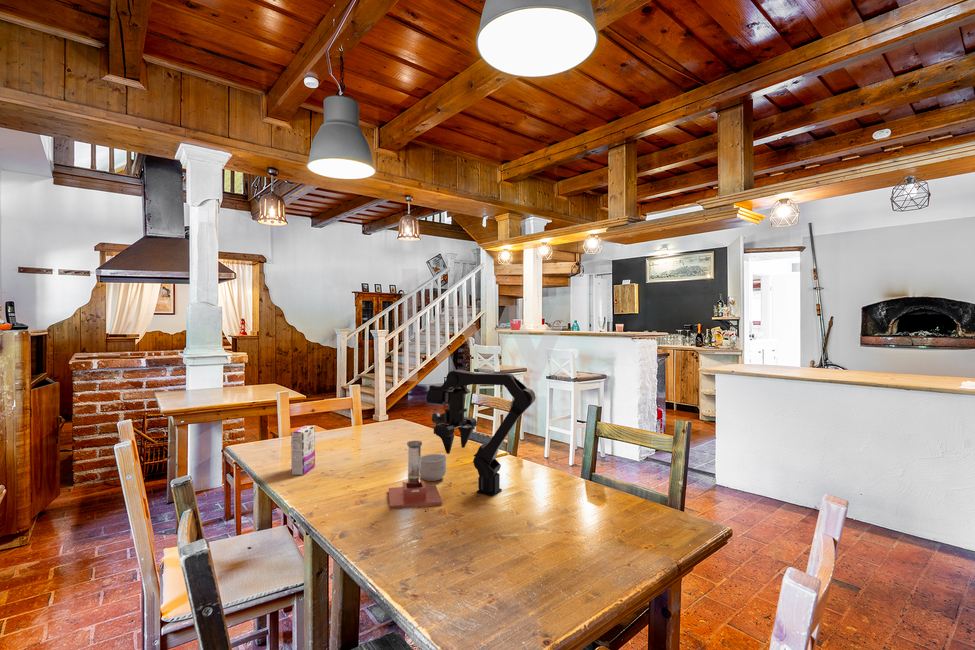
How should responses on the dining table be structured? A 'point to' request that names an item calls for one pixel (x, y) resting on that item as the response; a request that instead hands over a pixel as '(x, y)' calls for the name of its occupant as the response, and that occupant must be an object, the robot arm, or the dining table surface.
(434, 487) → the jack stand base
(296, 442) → the candy bar box
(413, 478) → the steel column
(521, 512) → the dining table surface
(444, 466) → the teacup
